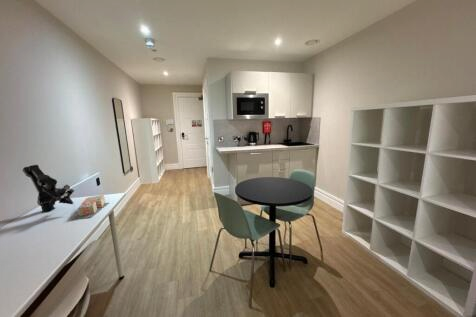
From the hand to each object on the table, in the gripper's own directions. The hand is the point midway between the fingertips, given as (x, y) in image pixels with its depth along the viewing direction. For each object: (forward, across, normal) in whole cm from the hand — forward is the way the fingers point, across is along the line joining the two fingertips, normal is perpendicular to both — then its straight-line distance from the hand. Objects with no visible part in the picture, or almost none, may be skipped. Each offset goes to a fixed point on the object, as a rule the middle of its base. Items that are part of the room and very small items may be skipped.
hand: (72, 203), depth 150 cm
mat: (+14, -1, -4) cm, 14 cm away
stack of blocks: (+7, 0, -2) cm, 7 cm away
